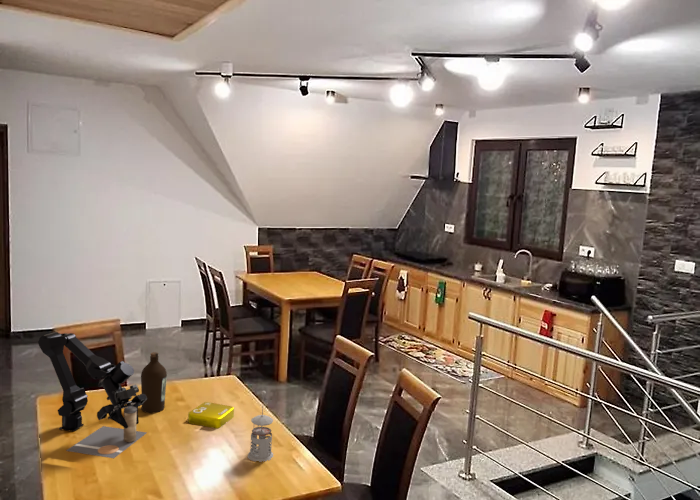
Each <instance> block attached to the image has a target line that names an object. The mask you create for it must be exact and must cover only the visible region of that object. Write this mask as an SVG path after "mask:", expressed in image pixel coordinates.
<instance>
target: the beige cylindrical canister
mask: <svg viewBox="0 0 700 500" xmlns="http://www.w3.org/2000/svg"><path fill="white" fill-rule="evenodd" d="M123 417H124V419H125V421H126V423H127V425H128V428H124V427H123V429H124V441H125V442H133V441H135V440H136V431H137V424H136V418H137V408H136V407H126V408H123Z"/></svg>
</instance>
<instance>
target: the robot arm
mask: <svg viewBox="0 0 700 500" xmlns="http://www.w3.org/2000/svg"><path fill="white" fill-rule="evenodd" d="M37 343H38V346H39V349H40V350H41V351H42V353H43V354H44V355H45V356H47V357H48V358H49V360H50V362H51V364H52V367H53V369H54V372H55V374H56V376H57V379H58V381H59V384H60V386H61V389H62V391H63V392H62V397H61V400H62V404H63V405H61V406H60V407H59V408H58V409H57V413H58V416H61V426H60V427H59V428H58V429H59V430H61V431H69V432H75V431H77V430H78V429H80V428H81V427H83V426H84V423H83V417H82V411H84V410H85V408H86V406H87V405H88V401H89V399H88V398H89V396H88V395H87V393H86V389H85V388H84V387H81V388H80V387H79V386H78V385H77V383H76V381H75V379H74V376H73V373H72V371H71V368H70V366H69V364H68V361H67V358H66V357H65V353H64V350H65V349H64V348H66V349H67V350H69V352H71V353H72V354H73V355H74V356H75V357H76V358H77V359H78V360H79V361H80V362H82V363H83V364H84V366H85V368H86V372H87V373H88V375H89V376H90V377H91V378H92V379H93V380H99V381H98V384H97V387H98V388H101V387H102V388H103V389H104V391H105V393H106V396H107V397H106V400H107V401H110V404H107V405H103V406H101V408H99V410H98V411H97V412H96V418H97V419H98V421H102V420H105V419H106V418H107V419H108V420H112V421H113V422H116V423H117V424H118V425H120V426H122V427H123V429H124V428H128V425H127V423H126V421H125V419H124V414H123V413H122V412H123V411H122V410H124V408H126V407H136V408H137V418H136V425H139V413H138V411H139V407H140V406H141V407H142V404H143V403H144V402H145V401H146V400H147V397H146V395H145V394H142V393H140V394H138V393H139V391H140V389H139V387H138V385H137V384H132V385H131V386H129V389H128V388H127V389H126V387H125V386H124V387H123V386H122V384H124V383H125V382H126V381H128V380H129V378H131V377H132V376H133V375H134V373H135V369H134V367H133V366H132V365H130V364H129V363H127V362H124V360H121V361H119V362H117V364H112V363H111V362H110V361H108V360H107V359H106V358H104V357H102V356H99V355H96V354H95V353H93V352H92V351H91V350H90V349H89V348H88V347H87V346H86V345H85V344H84V343H83V342H82V341H81V340H79V339H78V337H77V335H75V333H72V332H70V333H68V332H67V333H66V332H65V333H59V332H57V331H54V332H51V333H47V334H44V335H41V336H40V337H39V340H38V342H37ZM101 378H102V379H101Z"/></svg>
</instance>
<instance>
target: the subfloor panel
mask: <svg viewBox="0 0 700 500" xmlns="http://www.w3.org/2000/svg"><path fill="white" fill-rule="evenodd" d="M145 435H147V432H145V431H140V430H139V431H137V430H136V440H135V441H133V442H125V441H124V428H120V427H119V428H118V427H112V426H111V427H110V426H105V425H103V426H101V427H99V428H98V429H96V430H95V431H93V432H92V433H91V434H89V435H87V436H86V437H85V438H83V439H81V440H80V441H77V443H75V444H73V445H72V446H71V447H69V448H68V449H66V450H65V451H66V452H71V453H79V454H84V455H91V456H97V457H104V458H109V459H110V458H111V459H115V458H117V457H118V456H119V455H120V454H121V453H123V452H124V451H126V450H127V449H128V448H130V447H131V446H132V445H133V444H135V443H136V442H137V441H139V440H140V439H142V437H144V436H145Z"/></svg>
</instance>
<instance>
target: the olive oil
mask: <svg viewBox="0 0 700 500" xmlns="http://www.w3.org/2000/svg"><path fill="white" fill-rule="evenodd" d="M149 357H150V358H149V360H150V361H149V362H148V363H147V365H145V366H144V367H143V369H142V370H141V373H140V384H141V385H140V386H141V388H140V390H141V391H140V394H145V395H146V397H147V400H146V401H145V402H144V403H143V404H142V405H141V411H142V412H144V413H148V414H149V413H150V414H154V413H159V412H162V411H163V410H164V409H165V407H166V406H165V404H166V402H165V401H166V391H167V390H166V389H167V380H168V379H167V377H168V375H167V374H168V373H167V370H166V368H165V367H164V366H163V364H162V363H161V362H160V361H159V357H160V356H159V352H156V351H153V352H151V353H150V356H149Z"/></svg>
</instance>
